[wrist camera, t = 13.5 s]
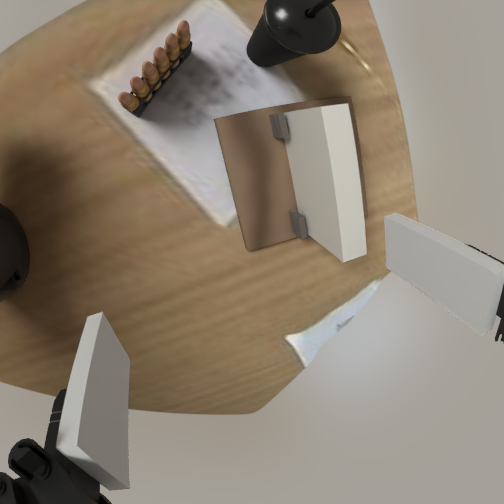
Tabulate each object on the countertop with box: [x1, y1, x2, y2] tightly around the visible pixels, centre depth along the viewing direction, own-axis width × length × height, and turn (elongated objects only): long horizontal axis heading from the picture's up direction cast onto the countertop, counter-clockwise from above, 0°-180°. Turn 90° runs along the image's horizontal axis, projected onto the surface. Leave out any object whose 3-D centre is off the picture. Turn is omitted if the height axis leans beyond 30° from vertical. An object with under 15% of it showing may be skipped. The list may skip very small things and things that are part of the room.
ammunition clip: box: [118, 20, 192, 117], centre depth 27 cm, size 11×2×12 cm, turn 142°
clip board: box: [214, 96, 368, 252], centre depth 39 cm, size 19×18×5 cm
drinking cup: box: [247, 0, 341, 67], centre depth 25 cm, size 8×8×20 cm
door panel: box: [284, 103, 367, 262], centre depth 34 cm, size 3×16×12 cm, turn 13°
